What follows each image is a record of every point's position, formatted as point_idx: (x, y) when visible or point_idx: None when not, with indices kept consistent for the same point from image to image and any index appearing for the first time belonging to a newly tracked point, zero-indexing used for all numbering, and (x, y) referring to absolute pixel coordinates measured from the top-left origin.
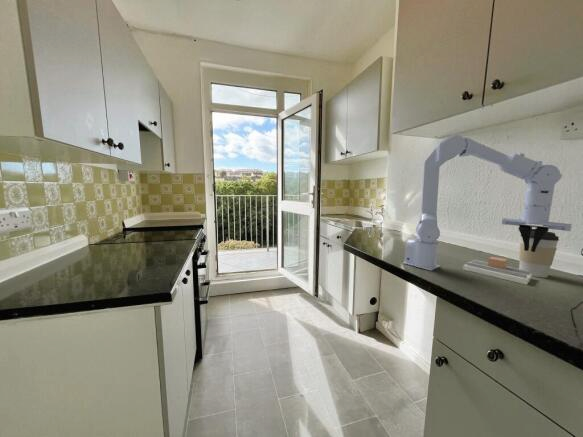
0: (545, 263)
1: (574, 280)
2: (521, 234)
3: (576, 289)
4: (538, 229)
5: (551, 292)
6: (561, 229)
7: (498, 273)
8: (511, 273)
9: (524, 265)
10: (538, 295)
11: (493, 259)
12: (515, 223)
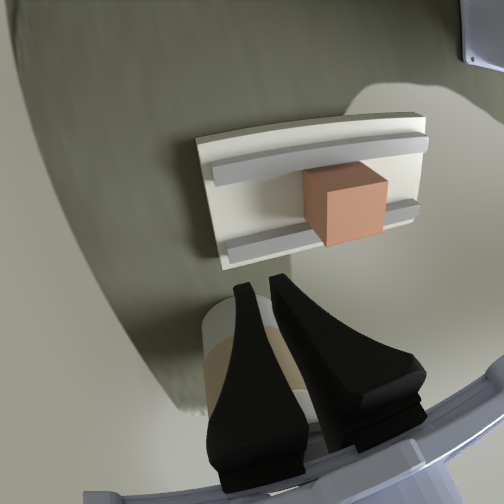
0: (213, 354)
1: (154, 366)
2: (368, 338)
3: (97, 278)
4: (276, 432)
5: (106, 130)
6: (141, 500)
7: (308, 124)
8: (268, 153)
9: (268, 317)
10: (117, 21)
11: (370, 183)
12: (449, 415)
